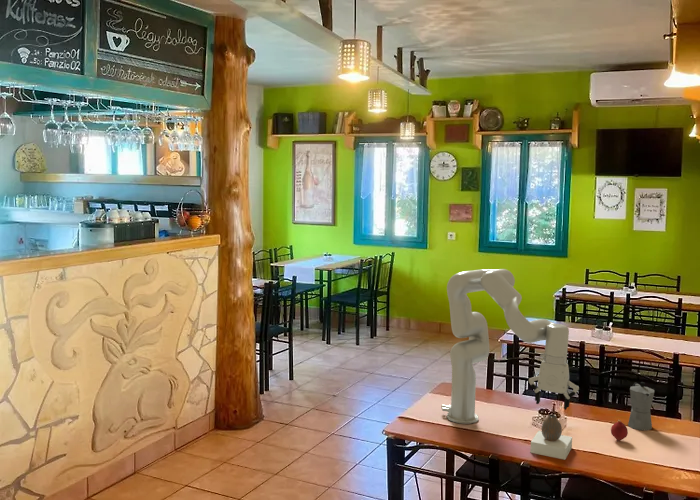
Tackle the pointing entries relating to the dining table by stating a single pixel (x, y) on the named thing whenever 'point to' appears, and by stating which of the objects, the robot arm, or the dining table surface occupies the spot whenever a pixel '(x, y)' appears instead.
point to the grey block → (551, 446)
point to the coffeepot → (641, 407)
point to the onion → (619, 430)
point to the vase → (551, 428)
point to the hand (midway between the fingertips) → (551, 405)
